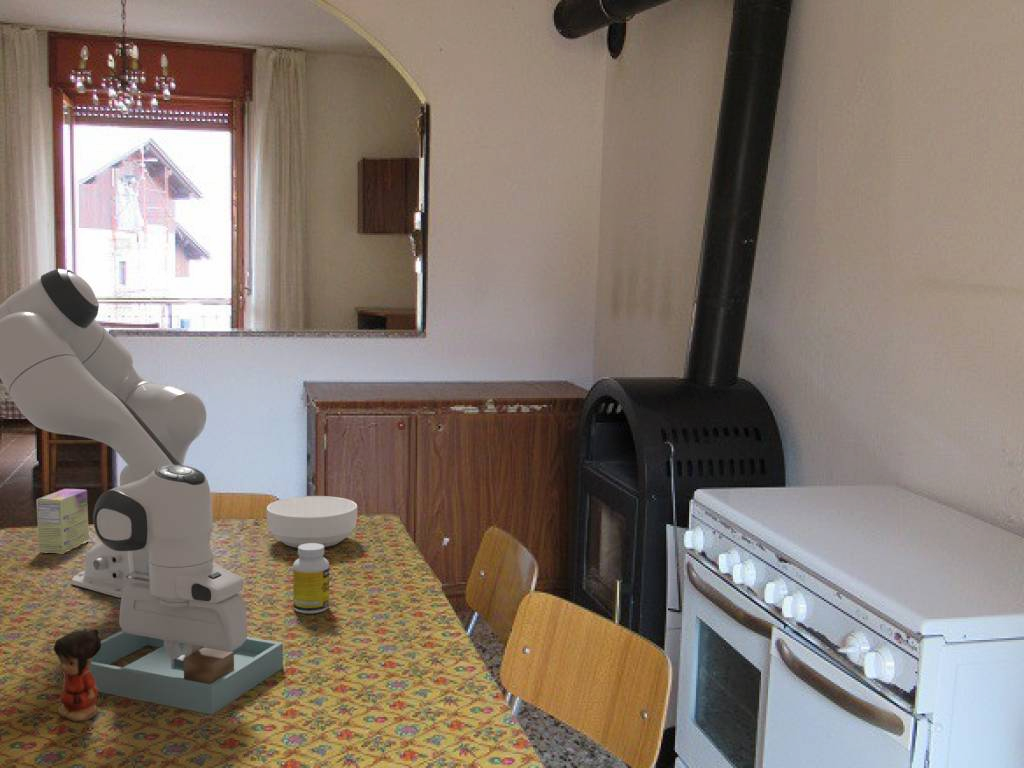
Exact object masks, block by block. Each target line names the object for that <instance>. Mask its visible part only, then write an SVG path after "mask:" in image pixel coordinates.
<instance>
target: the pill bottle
mask: <svg viewBox="0 0 1024 768" xmlns="http://www.w3.org/2000/svg"><path fill="white" fill-rule="evenodd" d="M324 555H325V547H324V545H322V544H318V543H307V544H302V545H299V546H298V548H297V556H299V558H297V559H295V561H294V563H293V564H292V586H293V587H292V595H293V596H292V597H293V598H292V601H293V602H292V604H293V605H292V607H293V609H294V611H296V612H297V613H301V614H309V615H310V614H319V613H322V612H324V611H326V610H328V609H329V607H330V562H329V561H328V559H327V558H325V557H324Z"/></svg>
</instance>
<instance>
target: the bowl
mask: <svg viewBox="0 0 1024 768" xmlns="http://www.w3.org/2000/svg"><path fill="white" fill-rule="evenodd" d="M357 520H358V505H357V503H356V502H355V501H353V500H351V499H348V498H343V497H339V496H328V495H327V496H326V495H307V496H306V495H305V496H294V497H288V498H283V499H278V500H276V501H273V502H271V503H269V504H268V505H267V507H266V521H267V530H268V531H269V532H270V533H272V535H273V537H274V538H275V539H276V540H278V541H280V542H281V543H283V544H284V545H286V546H288V547H293V548H297V549H298V546H299V545H302V544H307V543H318V544H322V545H324V548H327V547H332V546H335V545H337V544H339V543H340V542H342V541H343V540H345V539H346V538H348V537H349V536H350V535H351V533H352V531H353V530H355V529H356V528H357V523H358V522H357Z"/></svg>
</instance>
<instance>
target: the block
mask: <svg viewBox="0 0 1024 768" xmlns="http://www.w3.org/2000/svg"><path fill="white" fill-rule="evenodd" d="M233 670H234V652H232V651H230V652H227V651H221V650H216V649H210V648H205V647H204V648H202V649H200V650H199V651H197V652H195V653H193V654H191V655H189V656H188V657H186V658H184V679H185V680H190V681H196V682H201V683H206V684H212V683H213V682H215V681H216V680H218V679H220V678H221V677H223V676H225V675H226V674H228V673H229V672H231V671H233Z"/></svg>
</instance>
